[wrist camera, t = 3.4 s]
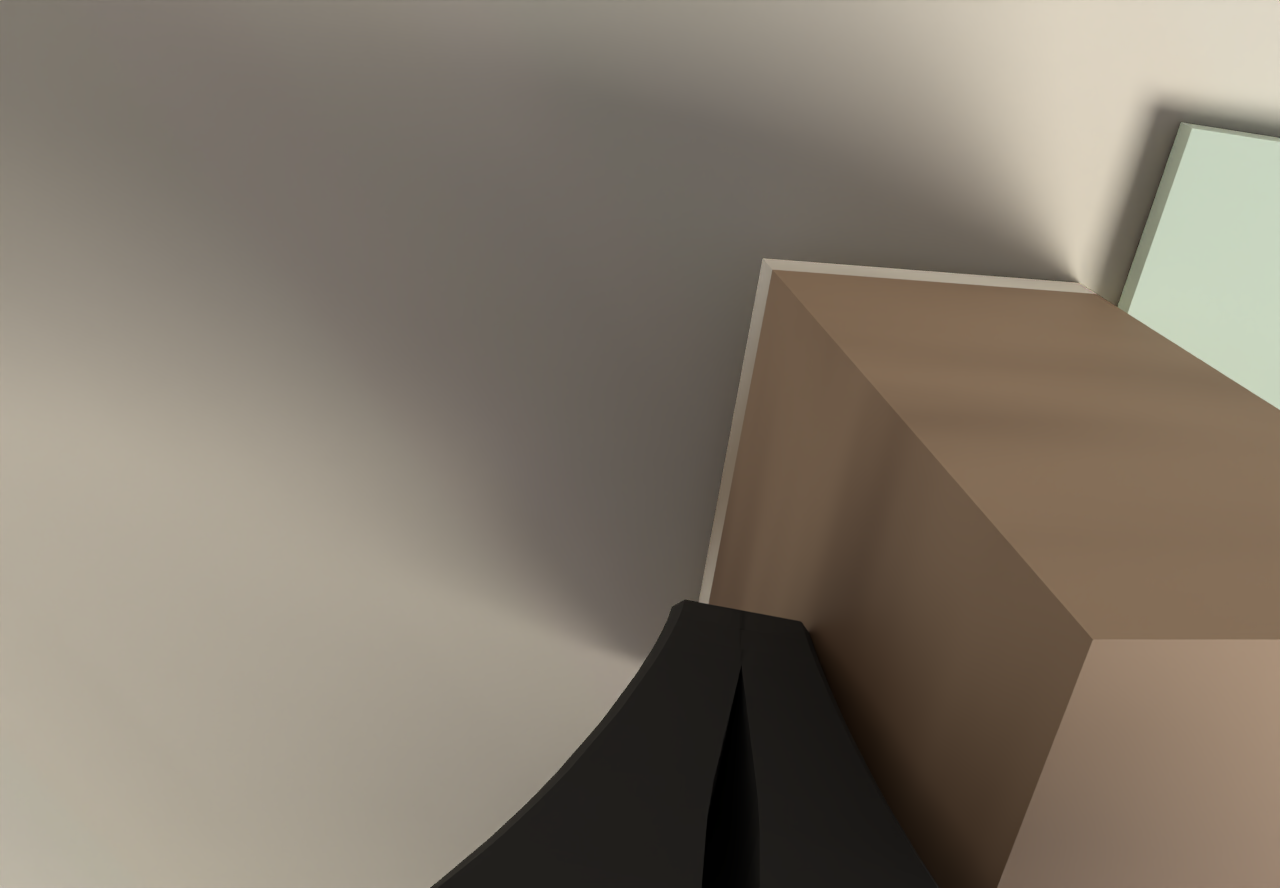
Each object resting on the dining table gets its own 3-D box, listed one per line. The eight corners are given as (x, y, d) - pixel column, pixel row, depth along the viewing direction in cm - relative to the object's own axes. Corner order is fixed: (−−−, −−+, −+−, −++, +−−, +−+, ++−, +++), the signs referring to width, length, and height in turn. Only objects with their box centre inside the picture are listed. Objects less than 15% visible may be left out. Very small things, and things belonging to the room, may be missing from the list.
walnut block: (934, 731, 16) (1239, 1249, 10) (673, 736, 15) (836, 1304, 9) (1079, 282, 13) (1640, 638, 7) (762, 258, 12) (1092, 638, 6)
